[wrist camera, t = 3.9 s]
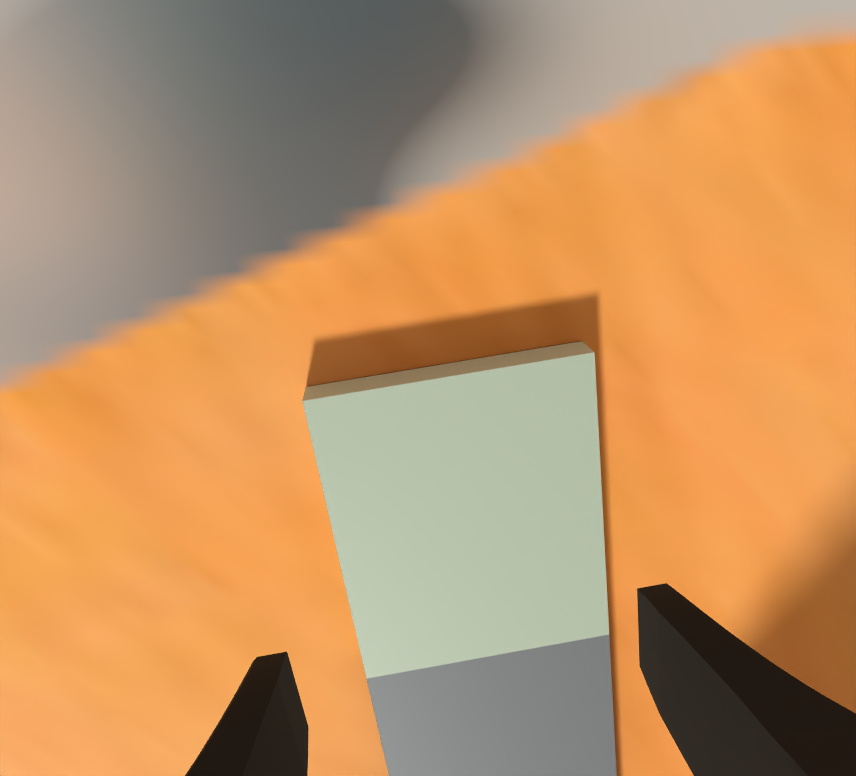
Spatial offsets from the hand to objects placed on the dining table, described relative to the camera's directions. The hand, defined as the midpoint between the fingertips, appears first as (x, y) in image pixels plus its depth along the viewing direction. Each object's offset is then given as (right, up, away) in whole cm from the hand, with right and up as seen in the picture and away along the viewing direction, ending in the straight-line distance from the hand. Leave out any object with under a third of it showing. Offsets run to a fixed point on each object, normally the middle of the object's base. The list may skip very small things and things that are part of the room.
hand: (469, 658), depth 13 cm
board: (+1, -4, +12) cm, 12 cm away
